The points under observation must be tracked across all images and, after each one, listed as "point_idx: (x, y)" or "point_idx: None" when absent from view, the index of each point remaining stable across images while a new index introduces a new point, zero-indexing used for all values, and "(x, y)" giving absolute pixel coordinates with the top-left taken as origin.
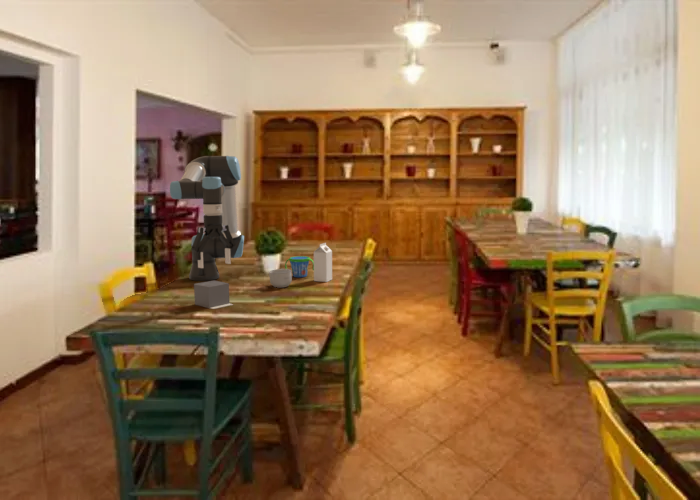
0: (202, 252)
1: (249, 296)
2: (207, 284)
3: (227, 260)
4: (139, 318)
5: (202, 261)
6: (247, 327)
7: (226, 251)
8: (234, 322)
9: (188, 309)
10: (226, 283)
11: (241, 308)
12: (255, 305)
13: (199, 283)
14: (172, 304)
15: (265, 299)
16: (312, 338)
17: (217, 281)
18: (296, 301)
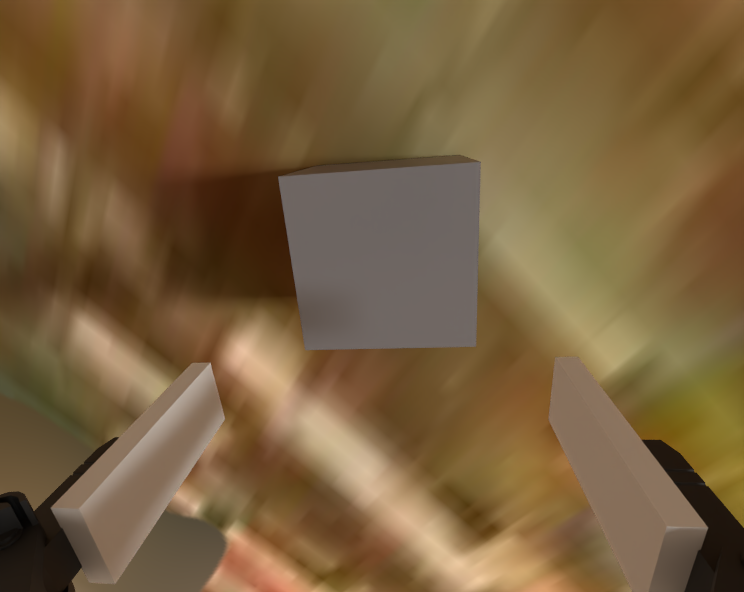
0: (111, 578)
1: (674, 216)
2: (345, 270)
3: (565, 418)
4: (6, 233)
5: (181, 469)
6: (297, 572)
7: (626, 506)
8: (296, 517)
9: (243, 242)
10: (464, 335)
11: (439, 398)
12: (522, 400)
13: (319, 191)
14: (215, 58)
15: (658, 342)
16: None
17: (468, 223)
18: (705, 470)
